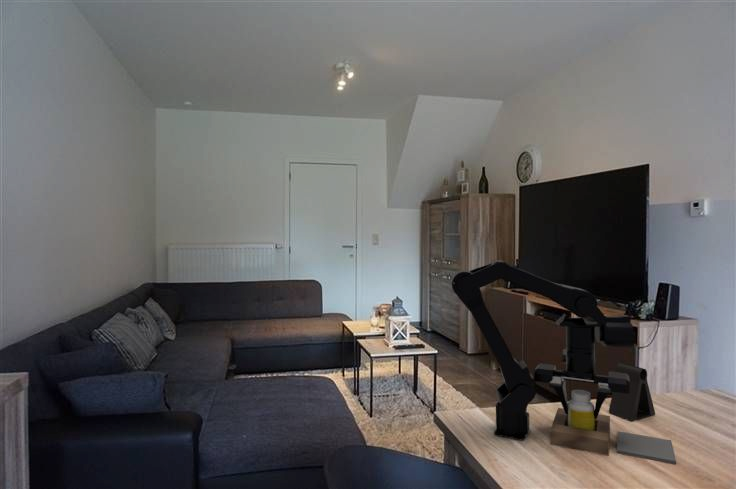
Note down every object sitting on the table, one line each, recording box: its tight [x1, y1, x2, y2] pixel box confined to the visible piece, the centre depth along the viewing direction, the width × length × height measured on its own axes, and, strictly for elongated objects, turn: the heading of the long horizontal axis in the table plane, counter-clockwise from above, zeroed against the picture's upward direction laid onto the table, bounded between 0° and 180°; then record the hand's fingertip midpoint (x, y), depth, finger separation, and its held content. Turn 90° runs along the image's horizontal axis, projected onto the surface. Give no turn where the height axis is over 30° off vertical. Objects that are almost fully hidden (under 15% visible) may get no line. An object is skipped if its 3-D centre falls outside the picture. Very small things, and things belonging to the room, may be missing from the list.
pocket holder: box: [549, 407, 611, 456], centre depth 100 cm, size 11×14×3 cm
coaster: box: [616, 430, 677, 465], centre depth 94 cm, size 10×10×1 cm
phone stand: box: [608, 362, 656, 423], centre depth 111 cm, size 9×6×12 cm, turn 115°
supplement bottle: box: [568, 389, 595, 431], centre depth 99 cm, size 5×5×10 cm
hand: (581, 416), depth 99 cm, fingers closed on supplement bottle, 5 cm apart
